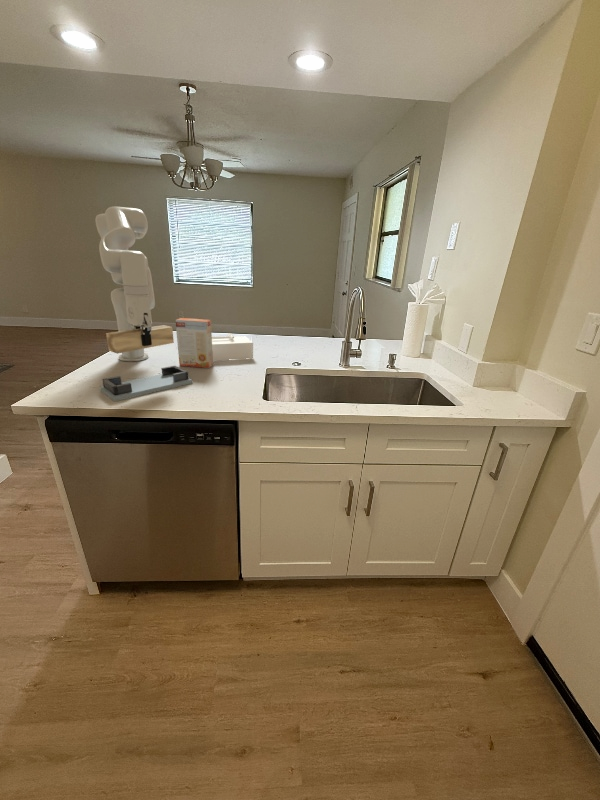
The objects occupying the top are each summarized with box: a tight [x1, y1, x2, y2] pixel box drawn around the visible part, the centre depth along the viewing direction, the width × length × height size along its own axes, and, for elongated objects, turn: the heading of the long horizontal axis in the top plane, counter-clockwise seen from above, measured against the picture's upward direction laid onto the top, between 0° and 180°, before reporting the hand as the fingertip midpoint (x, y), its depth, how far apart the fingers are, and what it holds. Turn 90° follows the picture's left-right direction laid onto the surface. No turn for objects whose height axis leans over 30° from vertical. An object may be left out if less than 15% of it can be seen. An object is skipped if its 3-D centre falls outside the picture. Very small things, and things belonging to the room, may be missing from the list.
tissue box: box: [212, 333, 254, 362], centre depth 169 cm, size 14×25×11 cm, turn 113°
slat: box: [105, 324, 175, 355], centre depth 120 cm, size 5×22×6 cm, turn 146°
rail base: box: [99, 365, 193, 402], centre depth 127 cm, size 13×29×4 cm, turn 137°
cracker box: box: [175, 317, 214, 369], centre depth 151 cm, size 14×6×21 cm, turn 84°
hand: (143, 343), depth 121 cm, fingers closed on slat, 5 cm apart
